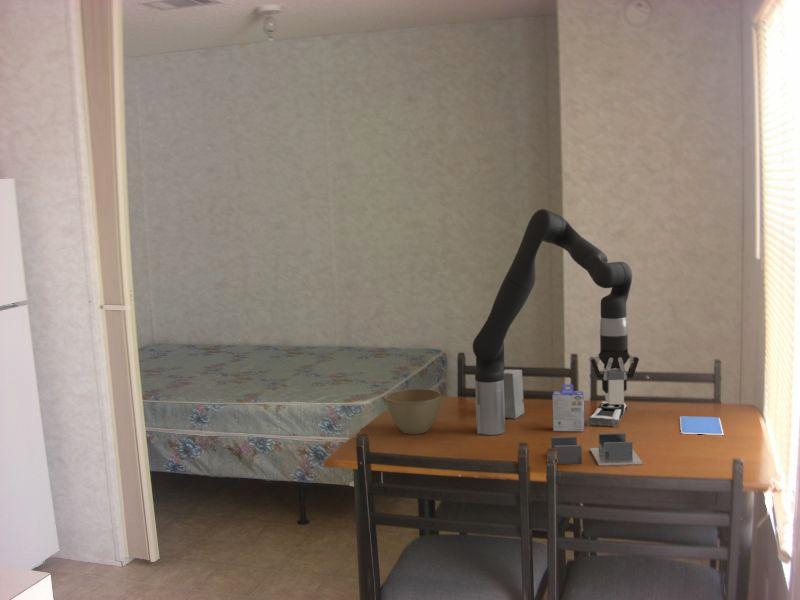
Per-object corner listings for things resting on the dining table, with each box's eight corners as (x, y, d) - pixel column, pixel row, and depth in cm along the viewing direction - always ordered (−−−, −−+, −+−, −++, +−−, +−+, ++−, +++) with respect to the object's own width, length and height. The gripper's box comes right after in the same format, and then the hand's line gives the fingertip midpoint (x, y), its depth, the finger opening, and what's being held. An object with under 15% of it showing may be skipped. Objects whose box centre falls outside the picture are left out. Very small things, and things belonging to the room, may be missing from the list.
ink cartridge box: (584, 427, 264) (583, 383, 262) (584, 432, 258) (583, 387, 256) (553, 426, 266) (552, 383, 264) (552, 431, 260) (551, 387, 258)
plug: (609, 404, 228) (609, 373, 227) (605, 399, 234) (604, 368, 233) (623, 404, 227) (623, 372, 226) (619, 398, 233) (619, 368, 232)
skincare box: (515, 419, 276) (514, 374, 274) (496, 417, 280) (495, 372, 278) (525, 413, 283) (524, 369, 281) (506, 411, 287) (505, 367, 285)
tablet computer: (724, 438, 247) (724, 433, 247) (680, 436, 251) (680, 432, 251) (719, 420, 266) (719, 417, 265) (679, 419, 270) (679, 415, 269)
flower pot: (405, 421, 280) (403, 387, 279) (451, 426, 271) (450, 391, 269) (377, 435, 265) (375, 399, 263) (425, 441, 256) (423, 404, 254)
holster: (555, 463, 229) (555, 446, 228) (551, 453, 238) (550, 436, 238) (581, 463, 229) (581, 446, 228) (576, 452, 238) (576, 436, 237)
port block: (598, 465, 226) (598, 446, 225) (589, 450, 240) (589, 431, 239) (642, 464, 225) (642, 444, 225) (631, 448, 239) (630, 430, 238)
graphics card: (587, 417, 264) (601, 399, 287) (587, 427, 265) (601, 408, 287) (618, 419, 260) (630, 400, 283) (618, 430, 261) (630, 410, 283)
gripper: (590, 336, 225) (591, 396, 227) (642, 334, 224) (643, 394, 226) (585, 331, 232) (586, 390, 234) (636, 329, 231) (636, 388, 234)
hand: (614, 392), depth 230 cm, fingers closed on plug, 4 cm apart
